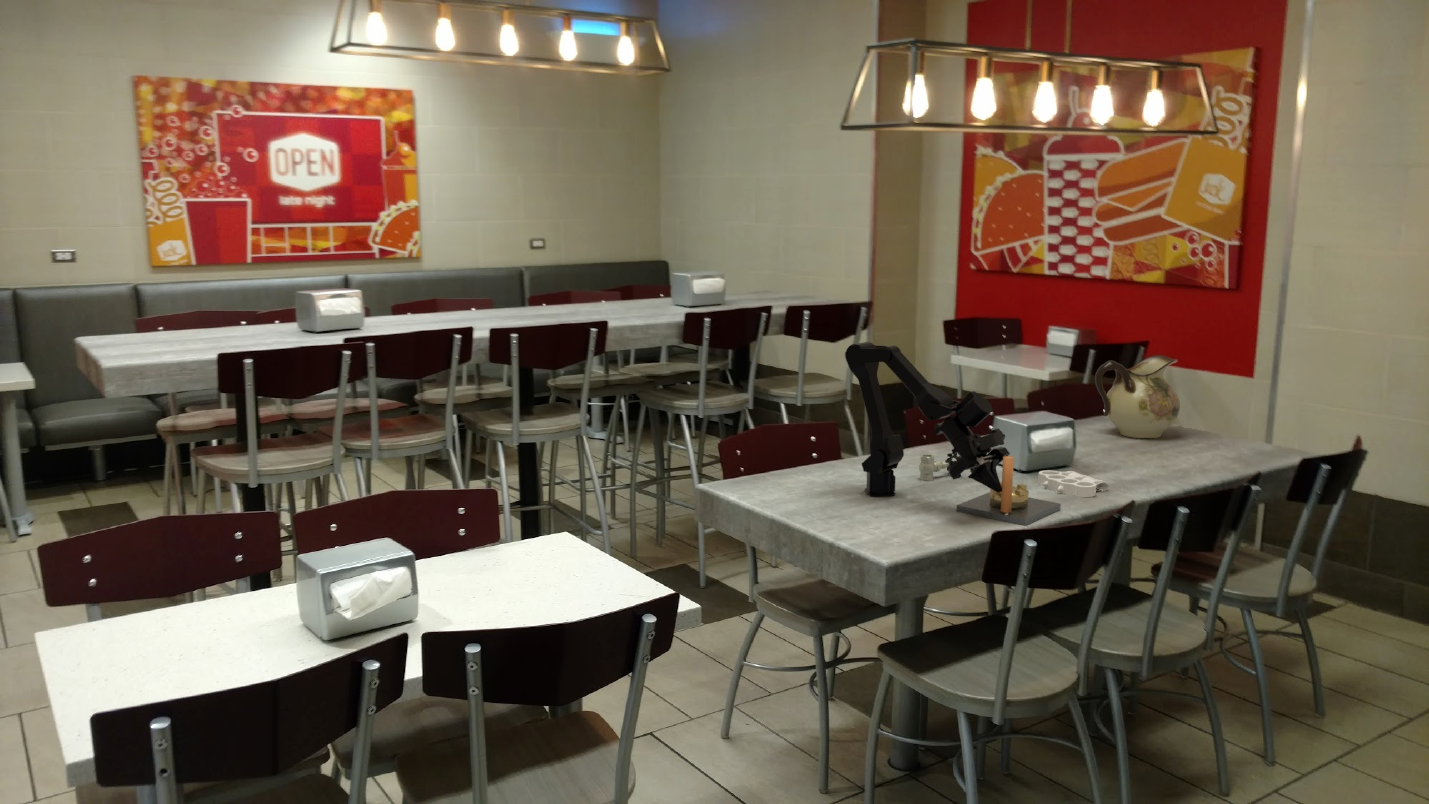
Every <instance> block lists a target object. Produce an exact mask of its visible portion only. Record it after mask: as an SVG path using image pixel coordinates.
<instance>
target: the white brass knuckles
mask: <svg viewBox="0 0 1429 804" xmlns="http://www.w3.org/2000/svg"><path fill="white" fill-rule="evenodd" d="M1037 479H1038V480H1037V484H1038V485H1039V486H1043V487H1044V488H1045V489H1047V490H1048V489H1050V490H1049V491H1053V490H1054V491H1053V492H1056V491H1057V492H1059V493H1058V494H1061V493H1063V494H1062V495H1068V494H1073V495H1075V496H1074V497H1076V496H1081V497H1089V496H1095V497H1096V493H1097V492H1096V491H1098V490H1097V489H1096V487H1097V488H1098V489H1103V491H1102V492H1105V491H1107V490H1108V489H1109V488H1110V485H1109V483H1108V482H1107V481H1105V480H1101V479H1097V478H1094V477H1092V476H1090V475H1085V474H1082V473H1078V472H1077V471H1073V470H1068V471H1059V470H1049V469H1047V470H1040V471H1039V472H1038V477H1037ZM1057 492H1056V493H1057ZM1073 495H1072V496H1073Z"/></svg>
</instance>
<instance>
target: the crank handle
mask: <svg viewBox="0 0 1429 804" xmlns="http://www.w3.org/2000/svg"><path fill="white" fill-rule="evenodd" d="M1014 458H1015V457H1014V456H1010V455H1009V456H1004V457H1003V461H1002V475H1001V476H1002V479H1001V481H1000V484H1001V487H1002V491H1001V492H1000V493H998V492H996V491H994V490H992V489H990V488H989V490H990V491H989V492H990V503H991V504H992V505H994V506H998V507H1001V512H1007V513H1008V512H1011V508H1023V507H1026V506H1028V497H1029V493H1030V492H1029V490H1028V487H1027V484H1024V483H1018V484H1016V486H1014V485H1013V481H1014V480H1013V479H1014Z"/></svg>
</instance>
